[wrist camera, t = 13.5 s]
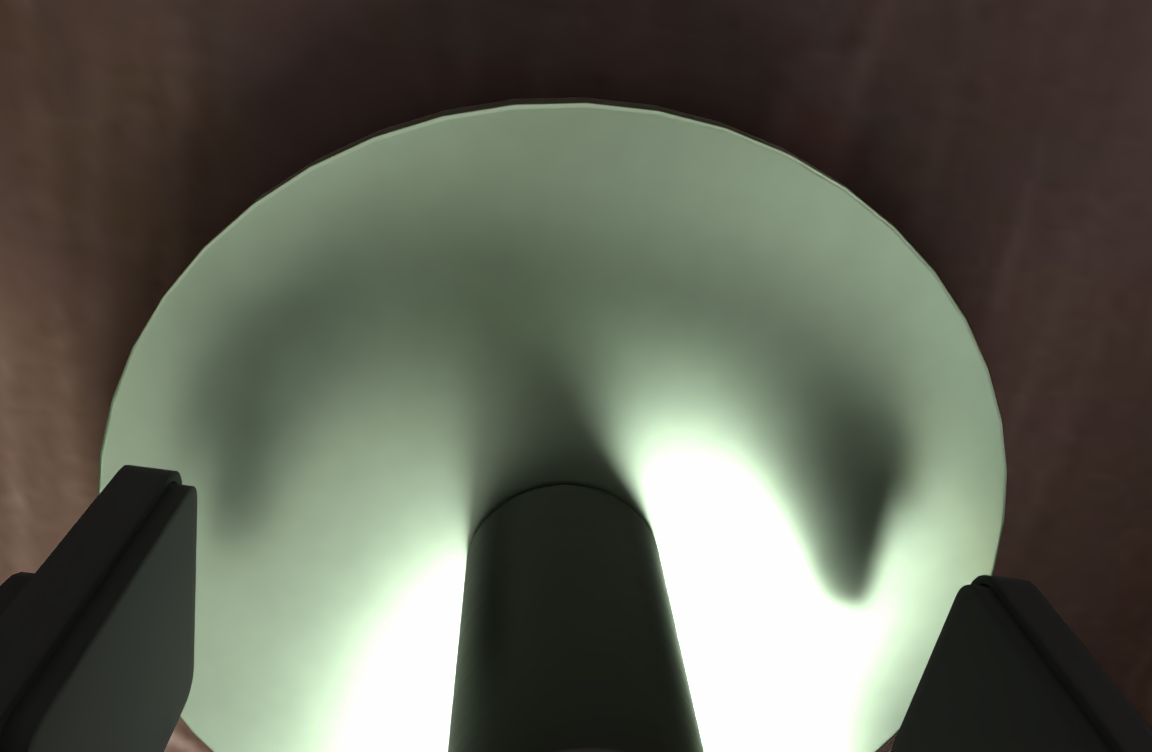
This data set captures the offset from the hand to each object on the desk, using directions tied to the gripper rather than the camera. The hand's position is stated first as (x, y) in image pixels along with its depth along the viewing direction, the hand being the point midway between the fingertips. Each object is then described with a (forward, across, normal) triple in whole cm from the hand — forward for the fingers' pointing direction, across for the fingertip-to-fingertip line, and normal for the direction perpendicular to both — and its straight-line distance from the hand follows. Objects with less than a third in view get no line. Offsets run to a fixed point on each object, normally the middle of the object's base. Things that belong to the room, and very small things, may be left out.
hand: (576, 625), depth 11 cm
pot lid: (+2, 0, 0) cm, 2 cm away
